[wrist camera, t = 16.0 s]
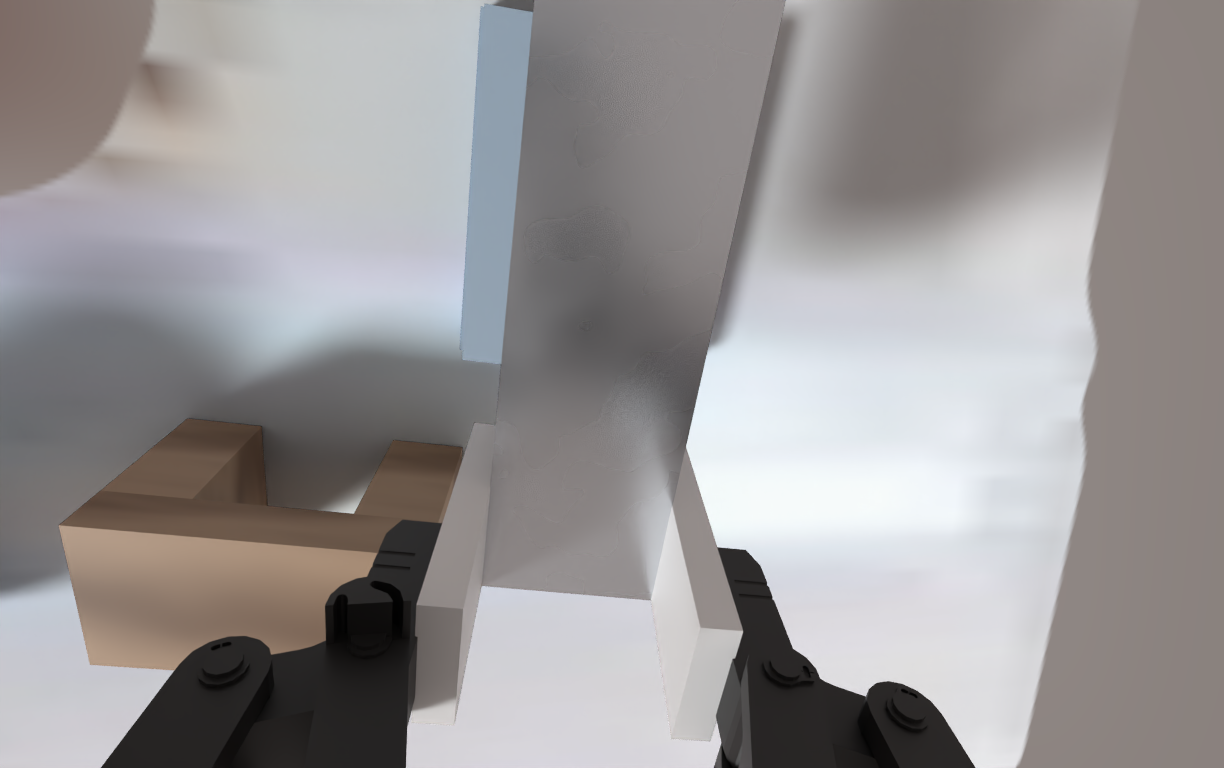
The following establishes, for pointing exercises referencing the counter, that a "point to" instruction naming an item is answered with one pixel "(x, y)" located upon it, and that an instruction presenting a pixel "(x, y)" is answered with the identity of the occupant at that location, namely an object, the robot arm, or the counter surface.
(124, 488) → the bearing block
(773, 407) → the counter surface
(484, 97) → the cradle
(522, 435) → the shaft
